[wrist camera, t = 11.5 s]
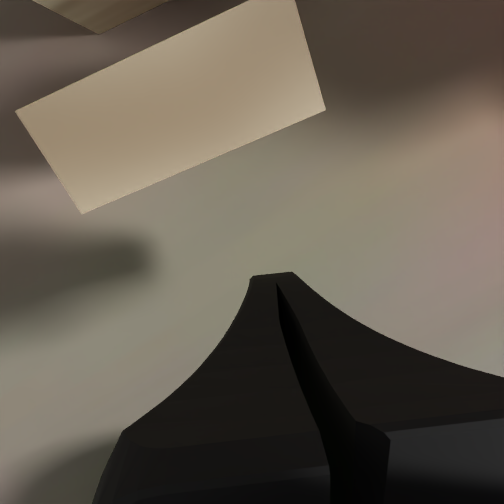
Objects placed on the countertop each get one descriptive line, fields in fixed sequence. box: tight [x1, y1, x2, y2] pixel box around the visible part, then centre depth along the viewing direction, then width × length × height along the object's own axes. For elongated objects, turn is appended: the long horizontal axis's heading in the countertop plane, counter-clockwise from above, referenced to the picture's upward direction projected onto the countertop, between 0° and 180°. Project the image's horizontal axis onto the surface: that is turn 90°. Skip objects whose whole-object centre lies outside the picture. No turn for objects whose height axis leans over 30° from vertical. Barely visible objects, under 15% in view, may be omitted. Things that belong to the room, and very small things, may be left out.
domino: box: [15, 0, 326, 214], centre depth 10 cm, size 2×5×8 cm, turn 112°
